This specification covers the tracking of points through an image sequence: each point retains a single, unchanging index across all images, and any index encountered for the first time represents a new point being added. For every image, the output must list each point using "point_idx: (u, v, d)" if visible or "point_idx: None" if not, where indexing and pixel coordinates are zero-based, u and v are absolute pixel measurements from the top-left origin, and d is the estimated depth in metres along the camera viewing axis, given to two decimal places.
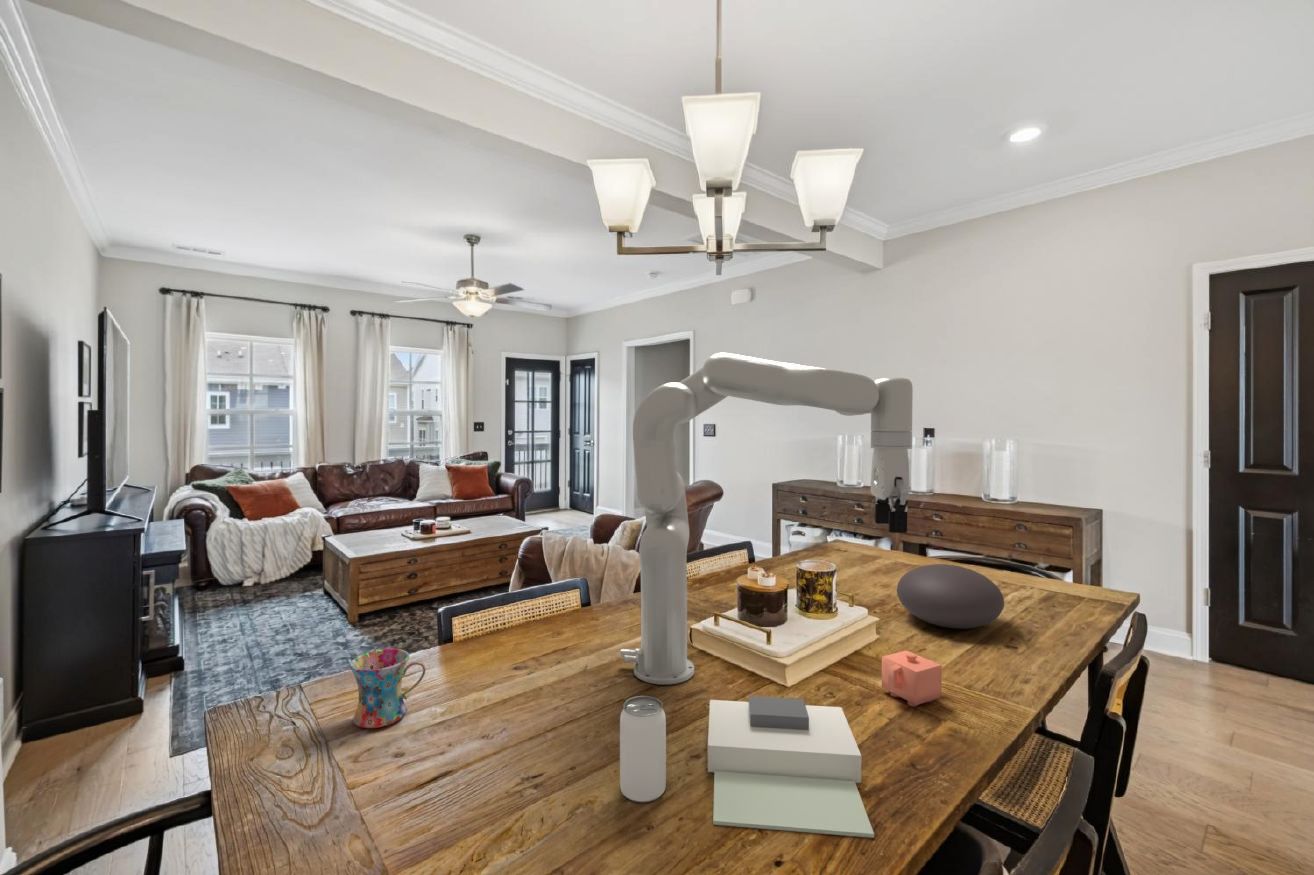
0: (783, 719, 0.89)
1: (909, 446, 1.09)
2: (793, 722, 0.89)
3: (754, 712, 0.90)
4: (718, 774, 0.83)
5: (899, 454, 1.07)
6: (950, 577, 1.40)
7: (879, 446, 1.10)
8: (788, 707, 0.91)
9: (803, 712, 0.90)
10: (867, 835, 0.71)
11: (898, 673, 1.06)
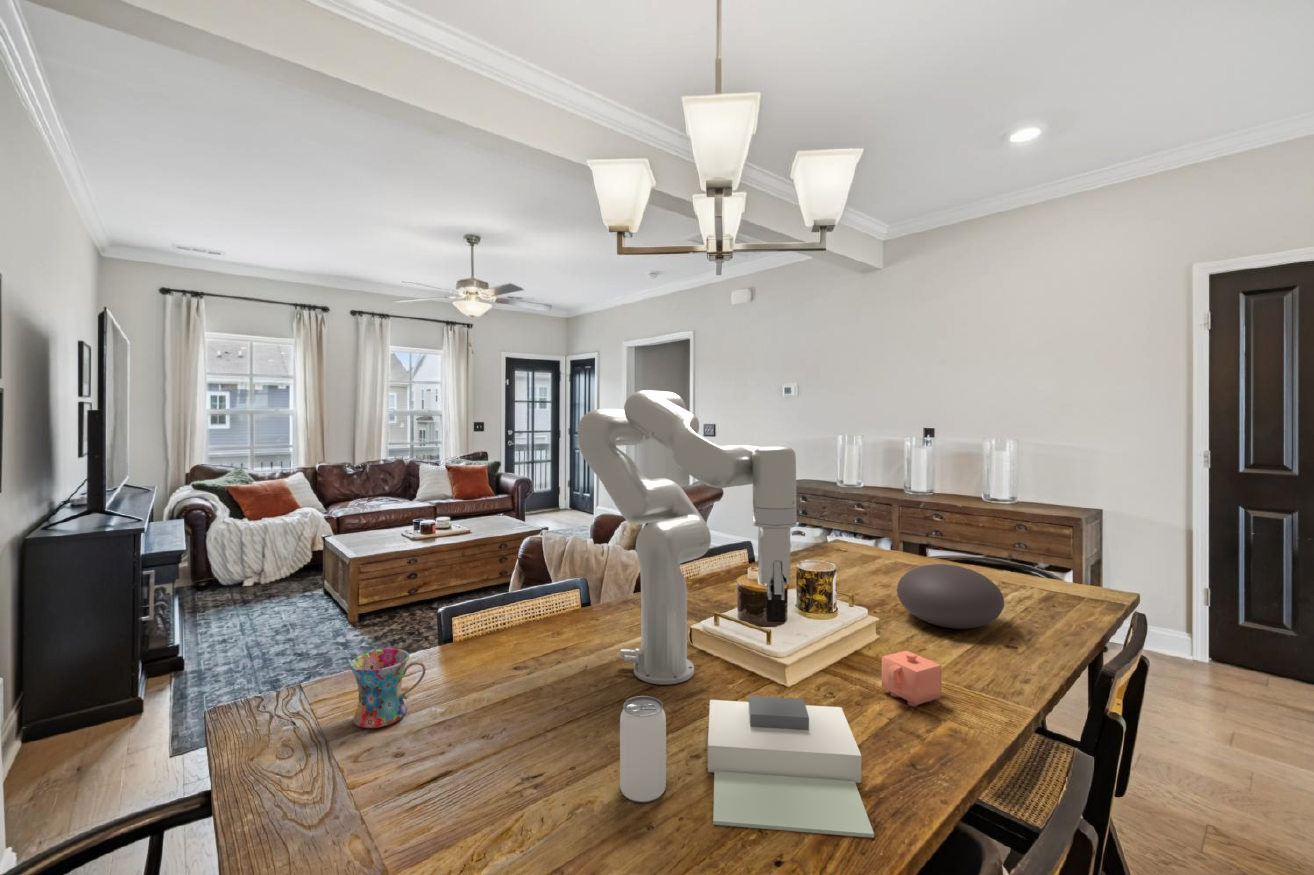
0: (783, 719, 0.89)
1: (792, 524, 0.97)
2: (793, 722, 0.89)
3: (754, 712, 0.90)
4: (718, 774, 0.83)
5: (778, 534, 0.95)
6: (950, 576, 1.40)
7: (759, 523, 0.98)
8: (788, 707, 0.91)
9: (803, 712, 0.90)
10: (867, 835, 0.71)
11: (898, 673, 1.06)
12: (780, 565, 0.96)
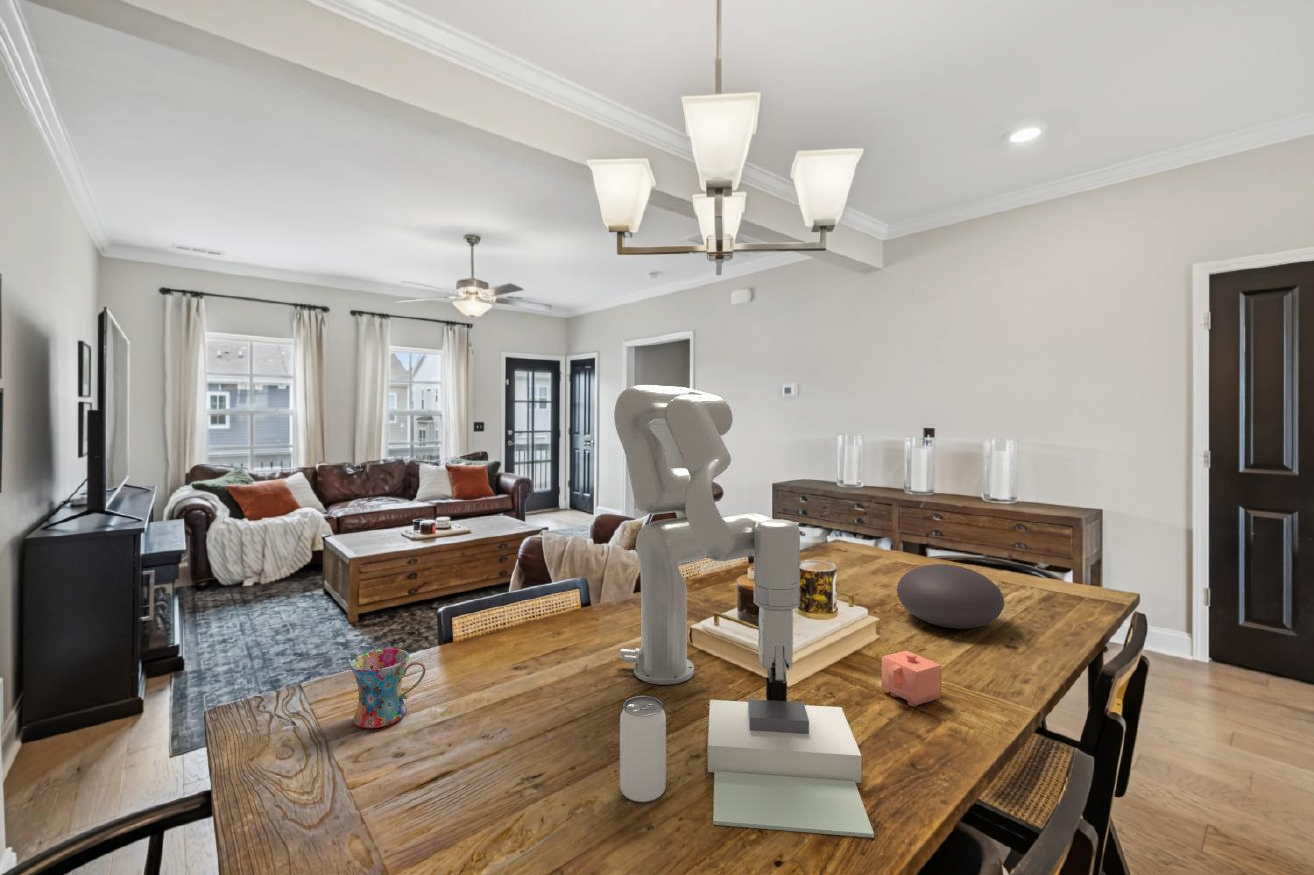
0: (783, 722, 0.88)
1: (795, 605, 0.92)
2: (793, 726, 0.87)
3: (754, 716, 0.89)
4: (718, 774, 0.83)
5: (780, 617, 0.90)
6: (950, 576, 1.40)
7: (760, 603, 0.93)
8: (788, 710, 0.90)
9: (803, 716, 0.89)
10: (867, 835, 0.71)
11: (898, 673, 1.06)
12: (782, 649, 0.91)
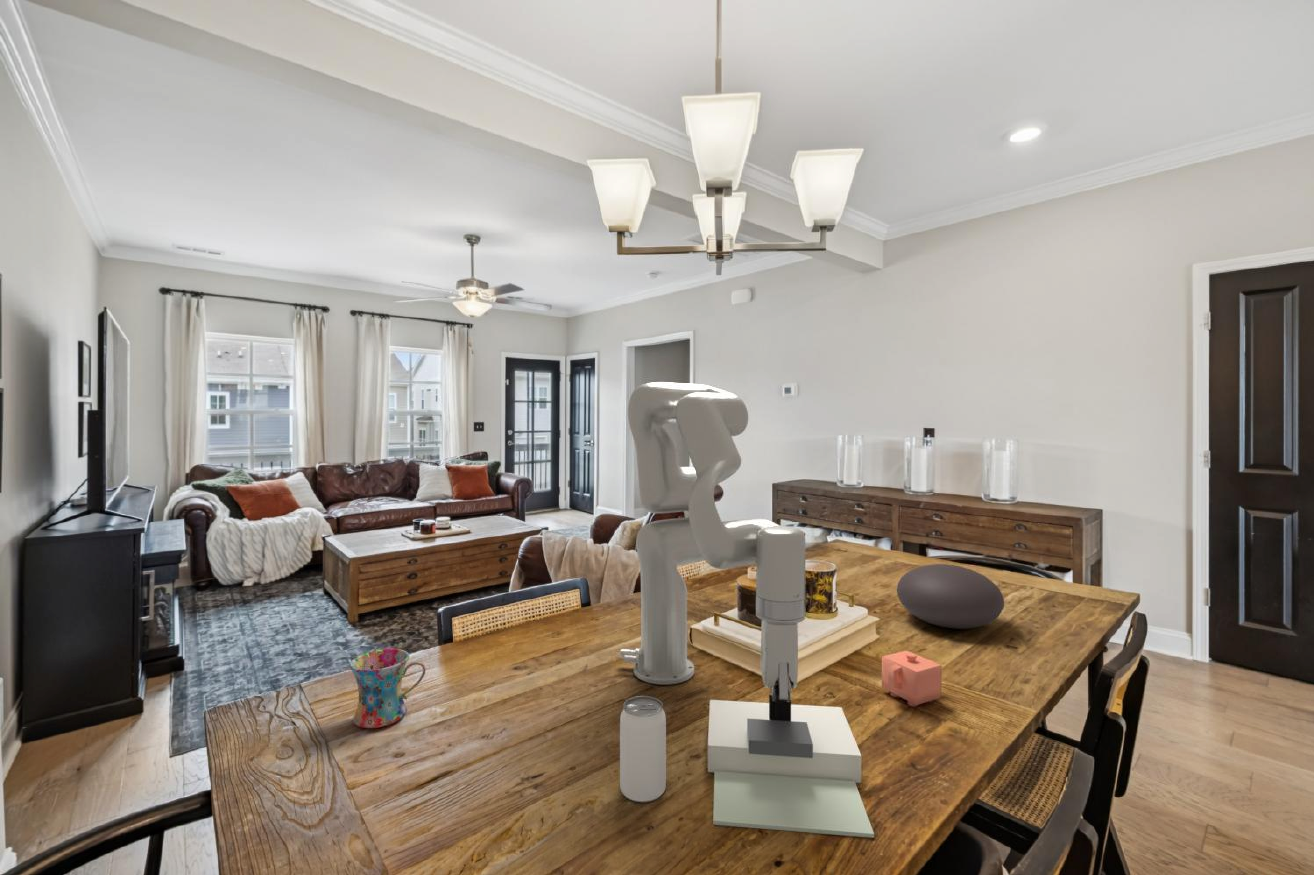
0: (785, 745, 0.81)
1: (800, 618, 0.86)
2: (796, 749, 0.81)
3: (753, 738, 0.82)
4: (718, 774, 0.83)
5: (784, 632, 0.84)
6: (950, 576, 1.40)
7: (763, 616, 0.87)
8: (790, 732, 0.84)
9: (806, 738, 0.82)
10: (867, 835, 0.71)
11: (898, 673, 1.06)
12: (786, 666, 0.84)
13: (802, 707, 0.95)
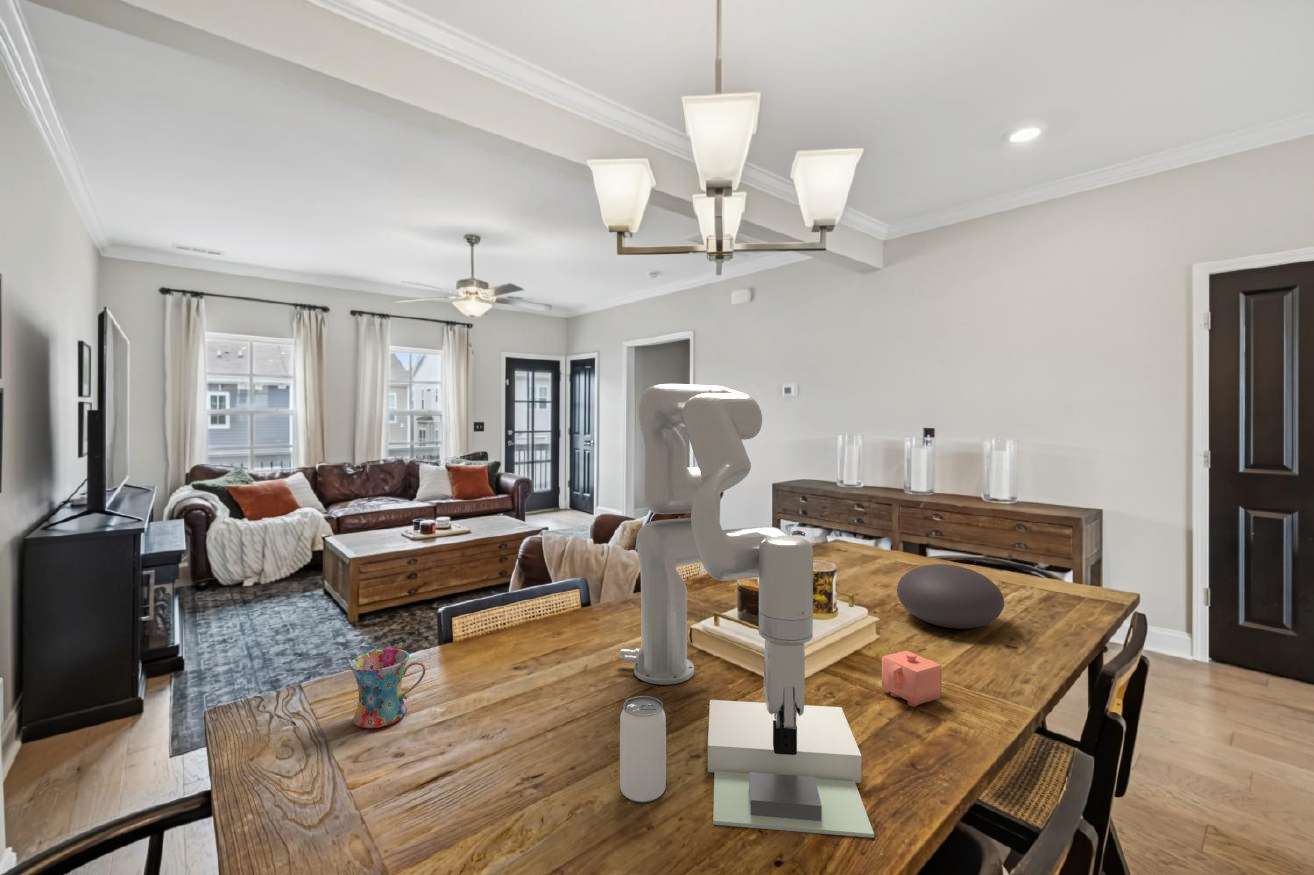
0: None
1: (807, 638, 0.78)
2: None
3: None
4: (718, 774, 0.83)
5: (790, 653, 0.76)
6: (950, 576, 1.40)
7: (766, 635, 0.79)
8: None
9: None
10: (867, 835, 0.71)
11: (898, 673, 1.06)
12: (792, 691, 0.77)
13: None
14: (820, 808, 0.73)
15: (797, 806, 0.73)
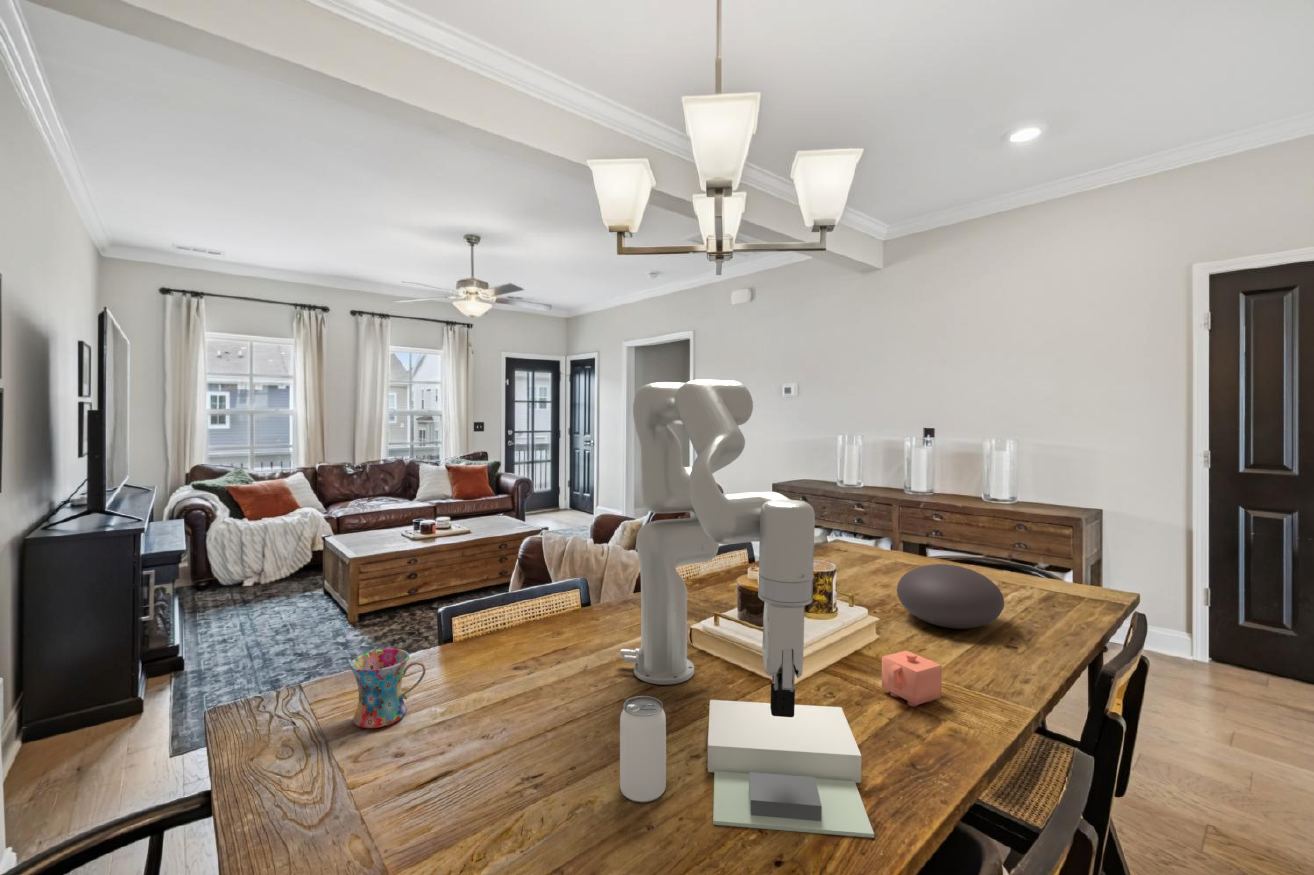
0: None
1: (807, 601, 0.78)
2: None
3: None
4: (718, 774, 0.83)
5: (789, 615, 0.76)
6: (950, 576, 1.40)
7: (766, 598, 0.79)
8: None
9: None
10: (867, 835, 0.71)
11: (898, 673, 1.06)
12: (791, 653, 0.77)
13: (802, 707, 0.95)
14: (820, 808, 0.73)
15: (797, 806, 0.73)
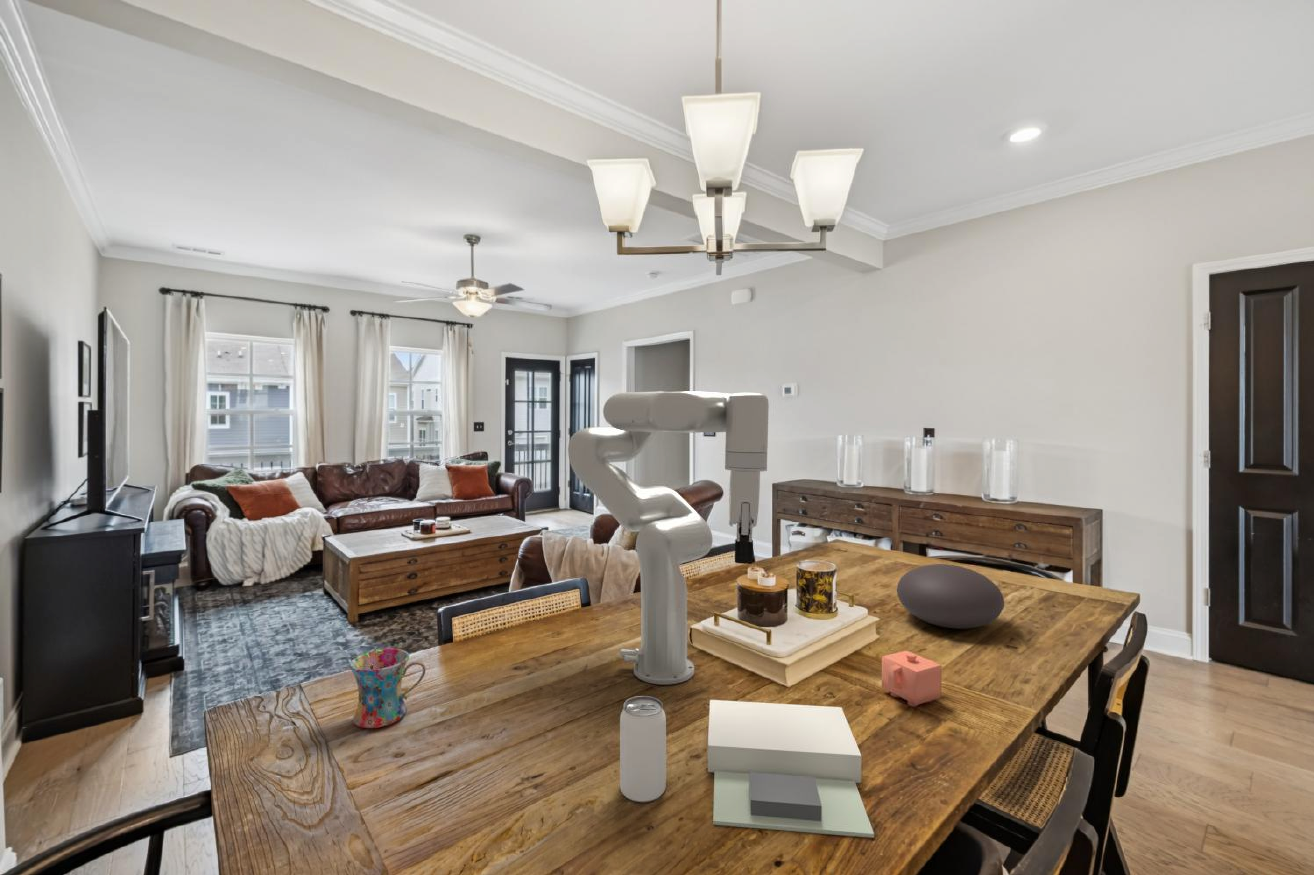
0: None
1: (762, 468, 1.00)
2: None
3: None
4: (718, 774, 0.83)
5: (747, 477, 0.98)
6: (950, 576, 1.40)
7: (730, 467, 1.01)
8: None
9: None
10: (867, 835, 0.71)
11: (898, 673, 1.06)
12: (748, 507, 0.98)
13: (802, 707, 0.95)
14: (820, 808, 0.73)
15: (797, 806, 0.73)
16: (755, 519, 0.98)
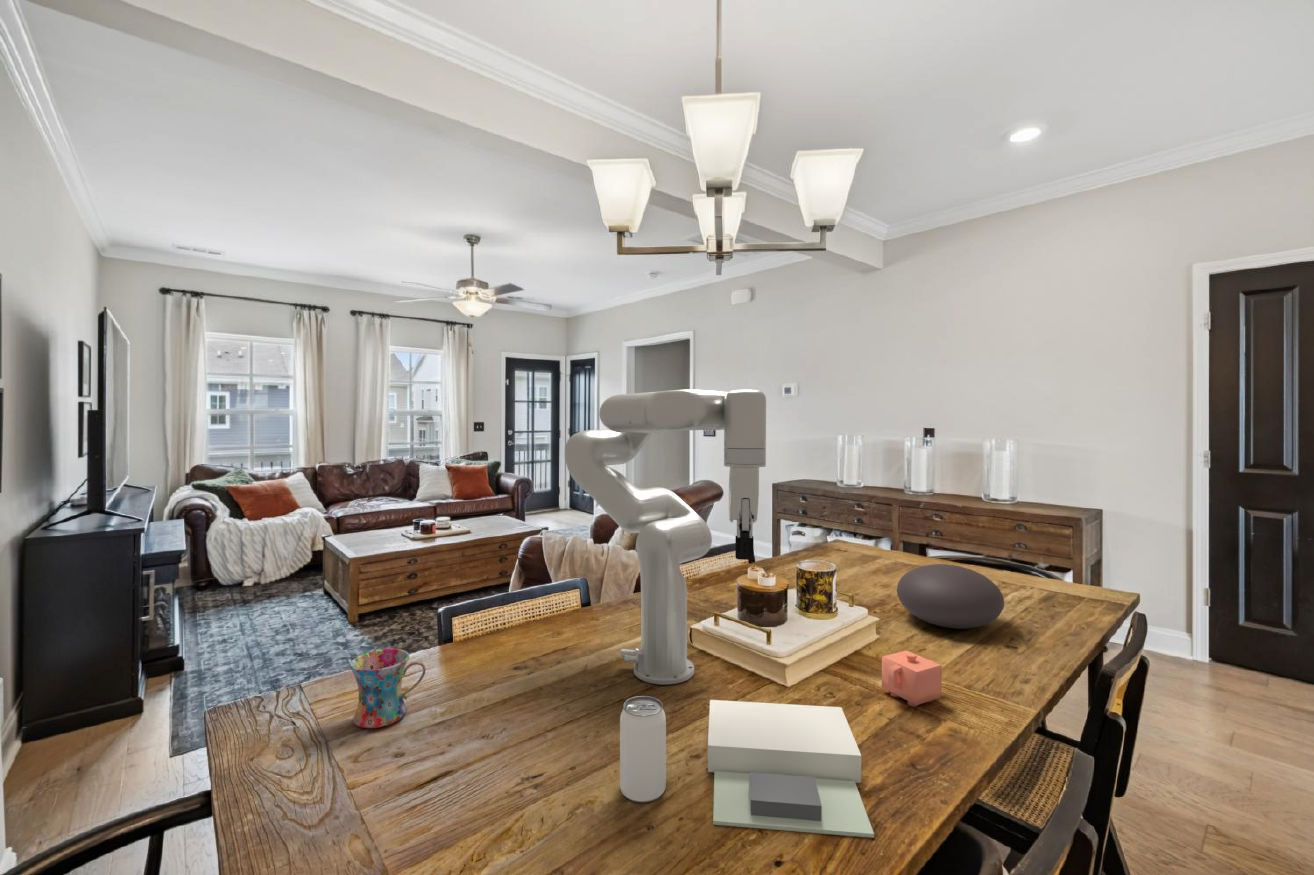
0: None
1: (761, 464, 1.00)
2: None
3: None
4: (718, 774, 0.83)
5: (746, 473, 0.99)
6: (950, 576, 1.40)
7: (729, 463, 1.01)
8: None
9: None
10: (867, 835, 0.71)
11: (898, 673, 1.06)
12: (748, 503, 0.99)
13: (802, 707, 0.95)
14: (820, 808, 0.73)
15: (797, 806, 0.73)
16: (755, 514, 0.99)
